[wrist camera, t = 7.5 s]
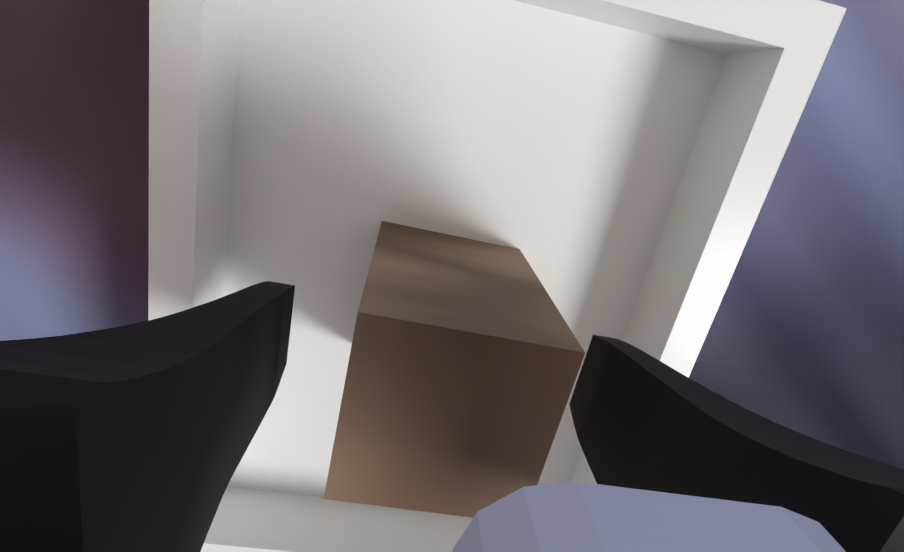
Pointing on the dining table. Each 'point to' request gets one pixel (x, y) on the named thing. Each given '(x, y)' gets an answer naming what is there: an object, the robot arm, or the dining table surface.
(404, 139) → the tray
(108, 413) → the robot arm
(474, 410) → the walnut block
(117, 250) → the dining table surface
